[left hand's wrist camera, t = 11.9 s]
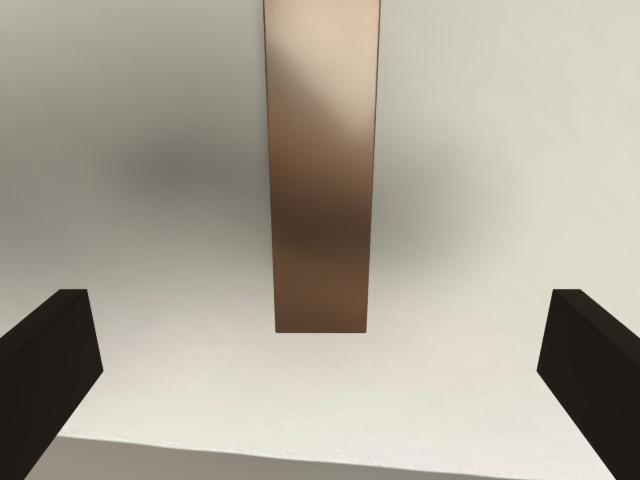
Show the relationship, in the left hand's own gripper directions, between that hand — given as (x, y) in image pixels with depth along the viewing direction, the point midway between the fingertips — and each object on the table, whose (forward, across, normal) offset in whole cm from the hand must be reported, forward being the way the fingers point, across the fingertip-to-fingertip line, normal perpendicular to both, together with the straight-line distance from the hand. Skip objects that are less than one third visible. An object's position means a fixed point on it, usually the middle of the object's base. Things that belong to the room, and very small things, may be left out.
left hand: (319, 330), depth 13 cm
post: (+18, 0, -35) cm, 39 cm away
